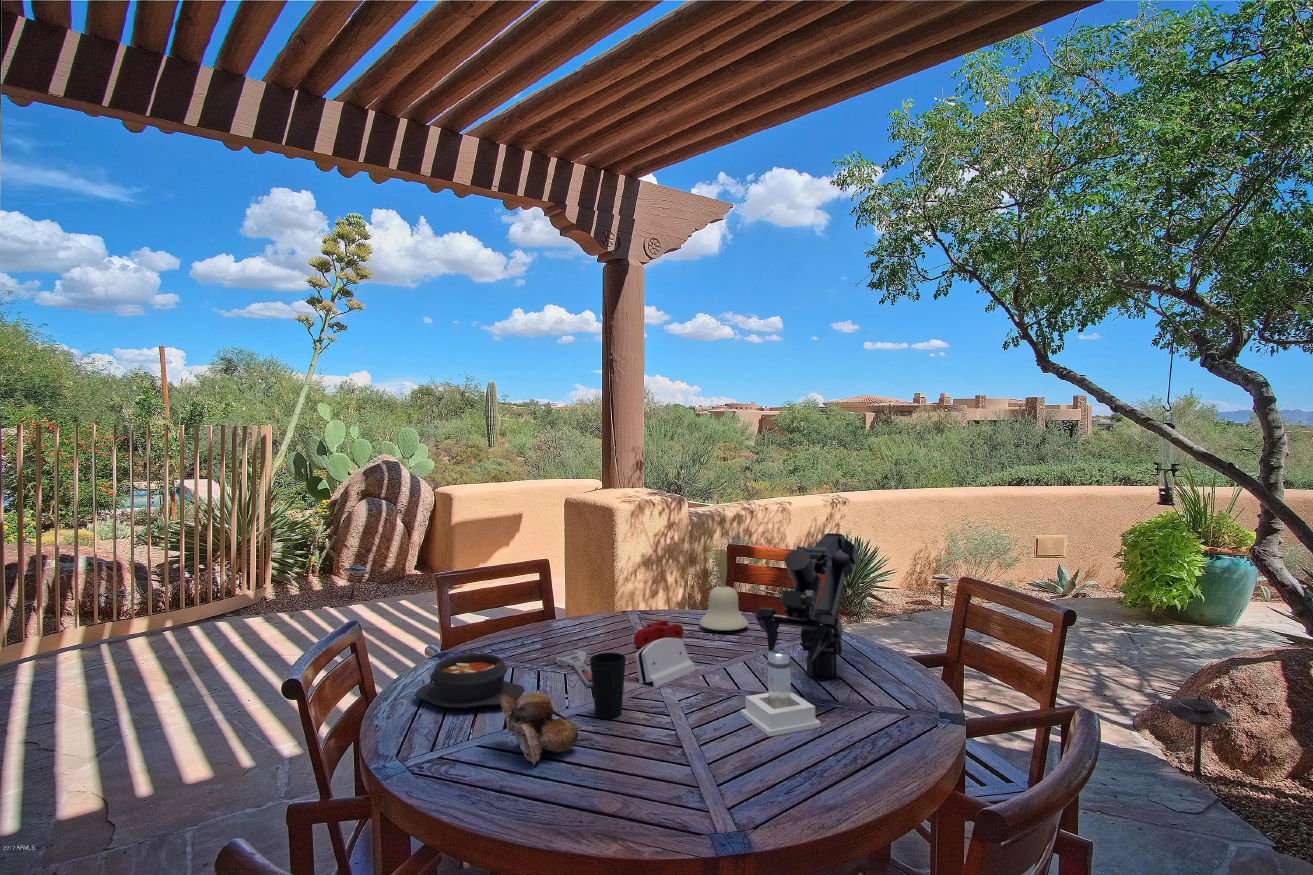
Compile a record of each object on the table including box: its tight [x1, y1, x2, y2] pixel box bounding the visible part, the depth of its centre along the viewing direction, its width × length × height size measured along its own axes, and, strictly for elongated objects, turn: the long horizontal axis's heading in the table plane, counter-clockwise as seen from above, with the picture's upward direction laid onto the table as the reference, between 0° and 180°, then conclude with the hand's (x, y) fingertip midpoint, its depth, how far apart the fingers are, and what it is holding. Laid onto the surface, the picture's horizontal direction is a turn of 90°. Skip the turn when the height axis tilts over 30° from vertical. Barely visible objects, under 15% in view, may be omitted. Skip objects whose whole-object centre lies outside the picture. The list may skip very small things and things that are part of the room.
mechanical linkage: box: [633, 620, 684, 649], centre depth 199 cm, size 16×7×5 cm, turn 137°
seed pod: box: [500, 691, 594, 766], centre depth 130 cm, size 13×16×15 cm
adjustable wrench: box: [555, 649, 593, 688], centre depth 175 cm, size 8×26×2 cm, turn 14°
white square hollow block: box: [739, 691, 822, 738], centre depth 142 cm, size 12×12×4 cm
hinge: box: [634, 638, 696, 688], centre depth 171 cm, size 17×5×10 cm, turn 140°
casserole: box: [414, 653, 525, 709], centre depth 156 cm, size 25×19×8 cm
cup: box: [589, 652, 626, 720], centre depth 147 cm, size 8×8×12 cm
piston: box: [766, 649, 792, 709], centre depth 142 cm, size 5×5×13 cm
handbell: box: [698, 548, 749, 631], centre depth 214 cm, size 15×15×25 cm
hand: (790, 656), depth 149 cm, fingers open, 9 cm apart
